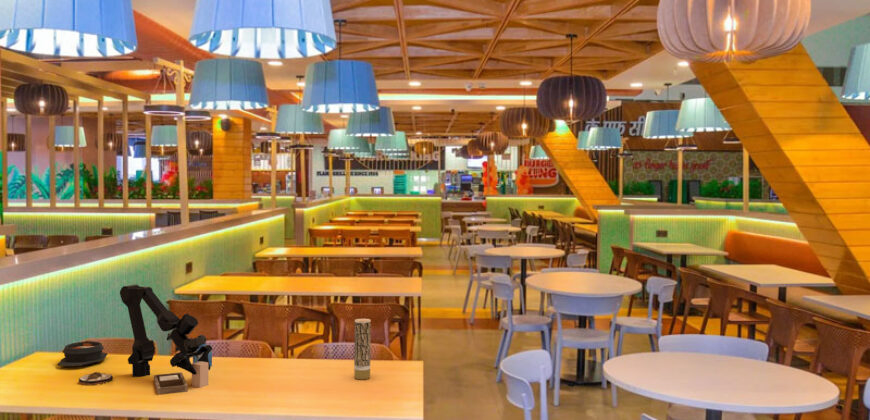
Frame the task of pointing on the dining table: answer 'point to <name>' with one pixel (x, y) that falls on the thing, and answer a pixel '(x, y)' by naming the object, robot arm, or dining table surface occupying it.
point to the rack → (170, 384)
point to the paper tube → (362, 349)
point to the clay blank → (200, 374)
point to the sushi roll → (95, 378)
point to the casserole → (82, 354)
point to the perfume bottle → (195, 359)
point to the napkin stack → (168, 377)
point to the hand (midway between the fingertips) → (202, 371)
